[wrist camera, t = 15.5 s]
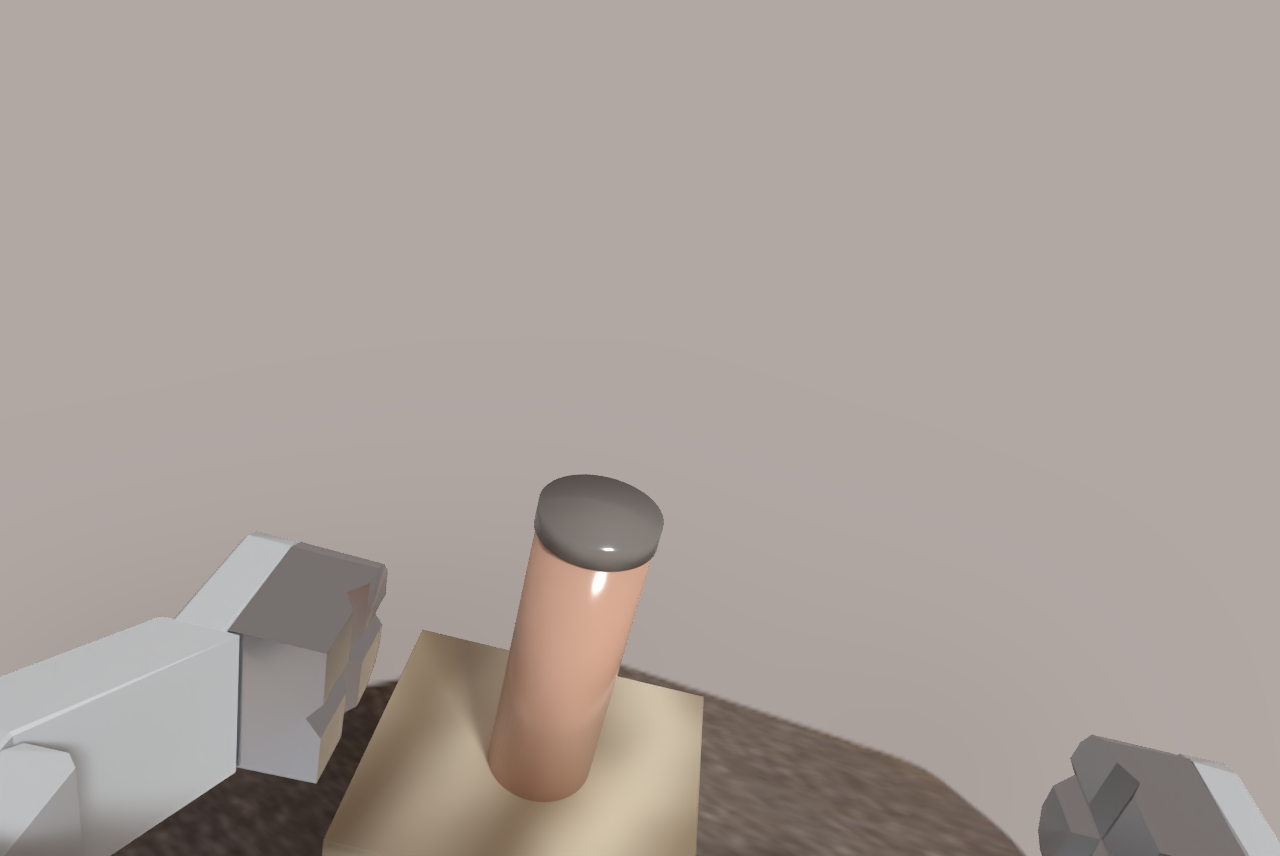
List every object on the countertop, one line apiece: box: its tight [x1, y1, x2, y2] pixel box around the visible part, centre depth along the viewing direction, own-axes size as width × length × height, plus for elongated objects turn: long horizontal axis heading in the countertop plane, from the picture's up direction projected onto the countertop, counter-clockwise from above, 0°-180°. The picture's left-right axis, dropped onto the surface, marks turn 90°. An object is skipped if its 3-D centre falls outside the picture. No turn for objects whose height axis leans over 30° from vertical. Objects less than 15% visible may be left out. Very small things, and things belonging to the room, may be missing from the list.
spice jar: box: [488, 475, 664, 802], centre depth 36 cm, size 5×5×13 cm
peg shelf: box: [322, 630, 703, 856], centre depth 42 cm, size 14×12×10 cm
